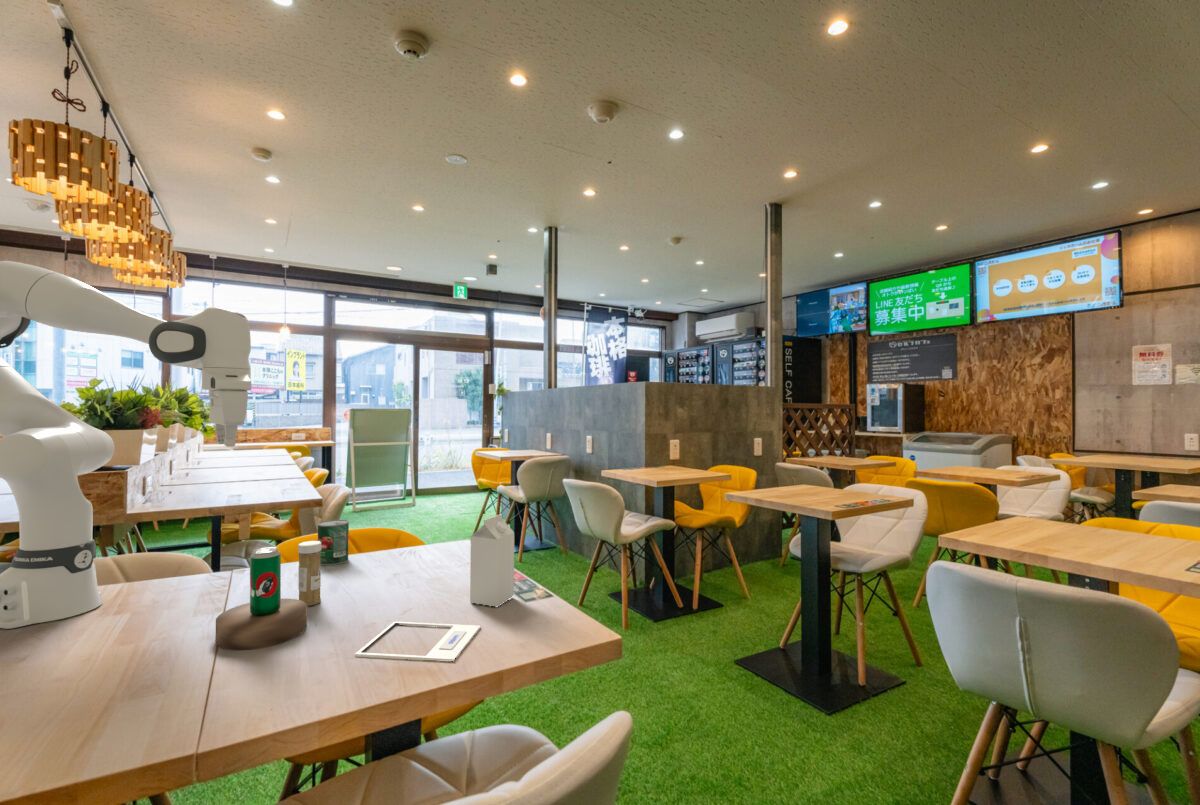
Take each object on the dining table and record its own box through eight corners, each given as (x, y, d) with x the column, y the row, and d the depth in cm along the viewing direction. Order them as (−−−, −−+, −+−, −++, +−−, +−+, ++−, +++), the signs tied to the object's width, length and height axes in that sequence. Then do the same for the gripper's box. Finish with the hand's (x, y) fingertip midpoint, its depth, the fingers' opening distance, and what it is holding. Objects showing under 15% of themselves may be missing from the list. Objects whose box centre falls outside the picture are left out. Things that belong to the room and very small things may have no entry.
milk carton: (469, 603, 124) (470, 518, 124) (487, 593, 130) (488, 512, 130) (497, 608, 121) (497, 521, 121) (514, 598, 128) (514, 515, 128)
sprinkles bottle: (322, 604, 123) (322, 543, 123) (298, 608, 120) (299, 546, 120) (319, 598, 126) (320, 539, 126) (296, 602, 124) (297, 541, 124)
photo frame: (453, 658, 96) (354, 652, 98) (453, 664, 96) (354, 659, 98) (480, 624, 110) (394, 620, 112) (480, 630, 110) (393, 626, 112)
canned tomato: (310, 564, 152) (311, 524, 152) (329, 557, 160) (329, 519, 160) (337, 566, 151) (337, 526, 151) (354, 558, 159) (354, 520, 159)
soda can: (286, 608, 109) (286, 547, 109) (264, 618, 104) (265, 554, 104) (265, 606, 110) (265, 545, 110) (243, 615, 105) (243, 552, 105)
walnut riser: (195, 648, 100) (195, 626, 100) (250, 617, 115) (251, 597, 115) (276, 651, 99) (276, 628, 99) (321, 618, 114) (321, 599, 114)
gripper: (201, 382, 128) (201, 443, 128) (217, 380, 113) (216, 448, 113) (234, 383, 132) (233, 442, 132) (253, 381, 117) (252, 447, 117)
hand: (225, 445), depth 122 cm, fingers open, 8 cm apart
